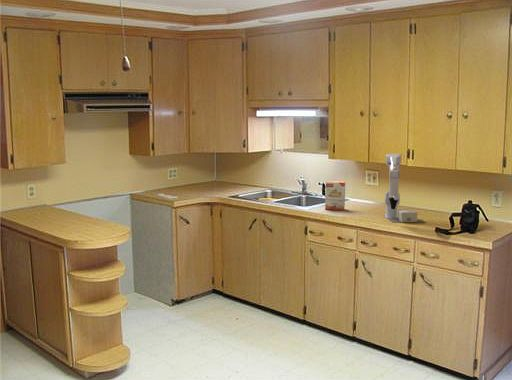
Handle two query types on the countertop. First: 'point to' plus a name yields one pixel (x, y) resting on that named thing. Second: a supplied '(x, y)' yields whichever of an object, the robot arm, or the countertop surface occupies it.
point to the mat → (400, 221)
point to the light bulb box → (407, 215)
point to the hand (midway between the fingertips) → (393, 209)
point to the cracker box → (335, 195)
